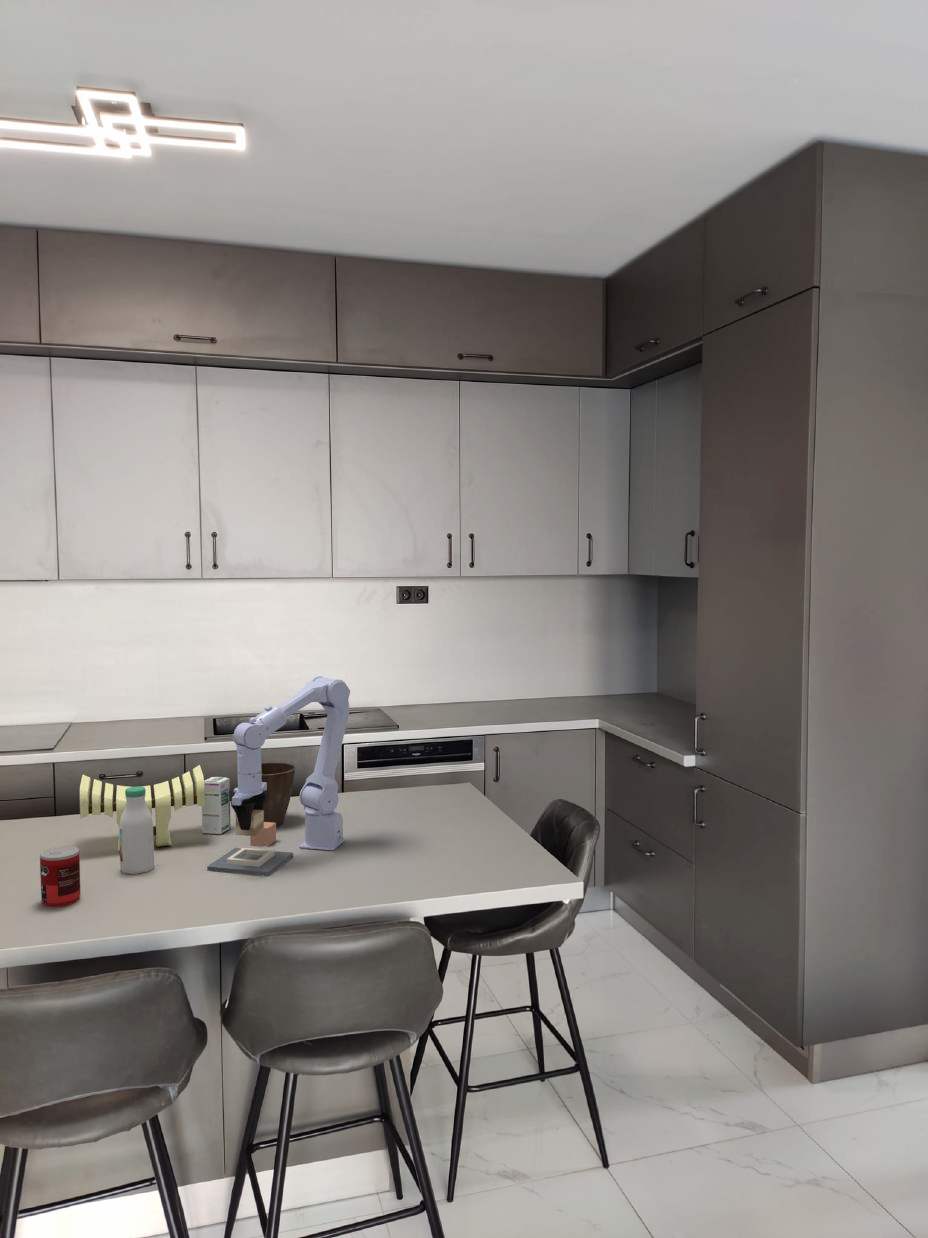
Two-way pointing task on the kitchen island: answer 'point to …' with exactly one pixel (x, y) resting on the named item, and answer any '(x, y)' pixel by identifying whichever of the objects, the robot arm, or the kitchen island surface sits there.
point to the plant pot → (277, 790)
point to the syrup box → (216, 805)
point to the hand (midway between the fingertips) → (250, 826)
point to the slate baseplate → (250, 861)
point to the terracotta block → (265, 835)
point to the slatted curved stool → (160, 801)
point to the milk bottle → (136, 833)
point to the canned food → (60, 876)
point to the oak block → (252, 824)
